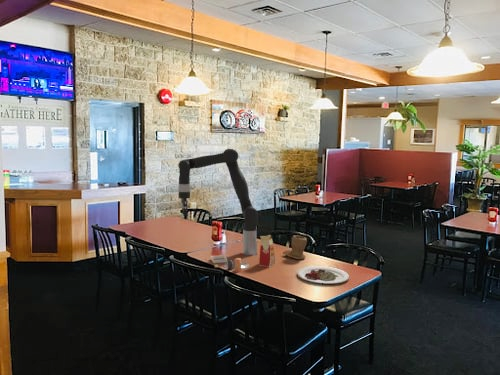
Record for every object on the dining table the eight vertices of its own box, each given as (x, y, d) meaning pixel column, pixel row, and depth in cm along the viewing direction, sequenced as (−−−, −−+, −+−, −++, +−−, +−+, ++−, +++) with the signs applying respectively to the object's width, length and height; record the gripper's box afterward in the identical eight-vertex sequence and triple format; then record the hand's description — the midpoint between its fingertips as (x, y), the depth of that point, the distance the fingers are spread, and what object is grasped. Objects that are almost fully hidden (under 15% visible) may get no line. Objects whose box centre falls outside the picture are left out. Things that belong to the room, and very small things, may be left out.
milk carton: (275, 264, 263) (276, 233, 260) (270, 268, 254) (270, 236, 252) (262, 262, 267) (263, 232, 264) (256, 266, 258) (257, 235, 256)
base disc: (245, 261, 267) (245, 259, 267) (252, 269, 252) (252, 266, 252) (212, 263, 261) (212, 261, 261) (217, 271, 246) (217, 269, 246)
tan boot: (309, 258, 276) (310, 236, 274) (297, 261, 269) (297, 239, 267) (294, 253, 288) (295, 232, 286) (281, 255, 281) (282, 234, 279)
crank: (235, 263, 260) (235, 255, 259) (241, 264, 258) (241, 256, 258) (225, 269, 249) (225, 260, 248) (232, 270, 247) (232, 261, 246)
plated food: (358, 277, 240) (359, 272, 240) (329, 290, 220) (329, 284, 219) (317, 265, 262) (317, 260, 261) (286, 276, 241) (286, 270, 240)
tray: (224, 258, 272) (224, 255, 272) (227, 263, 263) (227, 259, 263) (210, 259, 270) (210, 256, 269) (213, 264, 261) (213, 260, 260)
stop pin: (240, 270, 249) (240, 257, 248) (241, 272, 245) (241, 259, 244) (233, 271, 248) (233, 258, 247) (235, 273, 244) (235, 260, 243)
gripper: (191, 192, 261) (191, 217, 263) (188, 189, 274) (188, 212, 276) (179, 192, 259) (179, 217, 261) (177, 189, 272) (177, 213, 274)
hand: (184, 215), depth 268 cm, fingers open, 8 cm apart
